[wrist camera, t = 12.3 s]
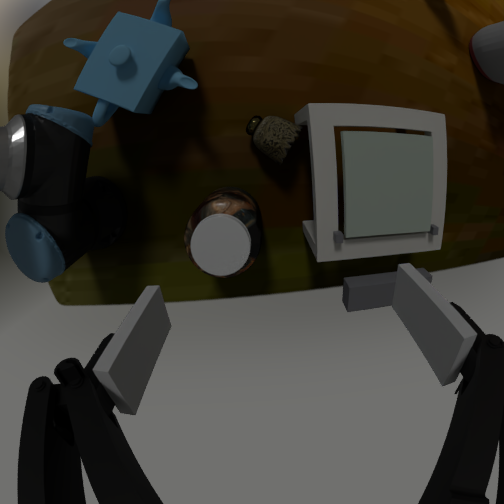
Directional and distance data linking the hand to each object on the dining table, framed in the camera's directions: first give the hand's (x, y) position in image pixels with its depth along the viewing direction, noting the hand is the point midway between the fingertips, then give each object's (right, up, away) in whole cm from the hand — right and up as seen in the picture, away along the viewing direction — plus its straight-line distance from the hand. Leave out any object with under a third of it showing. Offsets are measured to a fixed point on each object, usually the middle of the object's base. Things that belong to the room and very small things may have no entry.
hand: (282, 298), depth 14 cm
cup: (-2, +24, +27) cm, 36 cm away
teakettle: (-21, +36, +25) cm, 49 cm away
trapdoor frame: (+18, +17, +32) cm, 40 cm away
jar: (-6, +9, +36) cm, 38 cm away
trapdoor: (+18, +7, +21) cm, 28 cm away
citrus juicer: (+54, +48, +19) cm, 75 cm away
